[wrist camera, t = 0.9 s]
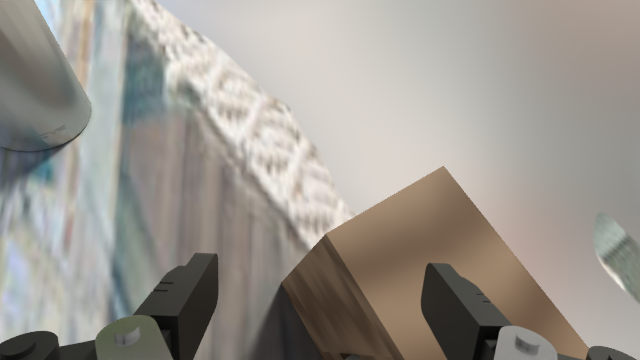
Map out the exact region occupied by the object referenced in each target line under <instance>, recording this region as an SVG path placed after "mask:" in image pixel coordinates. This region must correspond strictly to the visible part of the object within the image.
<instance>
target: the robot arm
mask: <svg viewBox="0 0 640 360" xmlns="http://www.w3.org/2000/svg"><path fill="white" fill-rule="evenodd" d="M91 111H92V110H91V103H90V101H89V99H88V97H87V95H86V93H85V91H84V90H83V88H82V86H81V84H80V82H79V81H78V79H77V77H76V75H75V73H74V71H73V69H72V68H71V66H70V64H69V62H68V61H67V59H66V57H65V55H64V53H63V52H62V50H61V48H60V46H59V44H58V43H57V41H56V39H55V37H54V35H53V34H52V32H51V30H50V28H49V27H48V25H47V23H46V21H45V19H44V18H43V16H42V14H41V12H40V10H39V9H38V7H37V5H36V3H35V2H34V0H0V147H3V148H6V149H10V150H15V151H40V150H45V149H49V148H53V147H56V146H58V145H61V144H64V143H65V142H67V141H69V140H71V139H73V138H74V137H75V136H76V135H78V134H79V133H80V132H81V131H82V130H83V129H84V128H85V126H86V125H87V123H88V121H89V119H90V116H91ZM217 300H218V256H217V254H210V253H195V254H194V256H193V257H192V258H191V260H190V261H189V262H188V264H187V265H186V266H178V267H176V268H174V269H173V270H171V271H170V272H168V273H167V274H166V275H165V276H164V277H163V279H162V280H161V281H160V283H159V284H158V285H157V286H156V287H155V288H154V290H153V292H151V293H150V295H149V296H148V297H147V298H146V299H145V301H144V302H143V303H142V304H141V306H140V307H139V308H138V309H137V311H136V312H135V313H134V314H133V316H128V317H124V318H121V319H119V320H116V321H114V322H112V323H110V324H109V325H107V326H106V327H104V328H103V329H102V330H101V331H100V332H99V333H98V335H97V337H96V339H95V340H92V341H87V342H82V343H77V344H71V345H66V346H61V347H59V343H58V337H57V335H55V334H54V333H52V332H48V331H36V332H30V333H26V334H22V335H19V336H16V337H13V338H11V339H9V340H6V341H4V342H2V343H1V344H0V360H193V358H194V356H195V354H196V352H197V349H198V347H199V345H200V342H201V340H202V338H203V336H204V333H205V331H206V329H207V326H208V324H209V322H210V320H211V317H212V315H213V313H214V311H215V308H216V305H217ZM421 310H422V314H423V316H424V318H425V320H426V322H427V324H428V325H429V327H430V329H431V331H432V333H433V335H434V336H435V338H436V340H437V342H438V344H439V345H440V347H441V349H442V351H443V353H444V355H445V356H446V358H447V360H583V359H579V358H575V357H570V356H566V355H562V354H558V353H557V352H556V350H555V348H554V347H553V345H552V344H551V343H550V342H548V341H547V340H546V339H545V338H543V337H542V336H540V335H539V334H537V333H535V332H533V331H531V330H528V329H525V328H522V327H518V326H513V325H512V323H511V322H510V321H509V320H508V319H507V318H506V317H505V316H504V315H503V314H502V313H501V312H500V311H499V309H498V308H497V307H496V306H495V305H494V304H493V303H491V301H490V300H489V299H488V298H487V296H484V293H483V292H482V291H481V290H480V289H479V288H478V287H477V286H476V285H475V284H473V283H472V282H470V281H469V280H467V279H466V278H464V277H461V276H460V275H459V274H458V273H457V272H456V271H455V270H454V268H453V267H452V266H451V265H450V264H447V263H428V264H427V266H426V270H425V276H424V282H423V288H422V294H421ZM585 360H636V359H635V358H633V357H631V356H629V355H627V354H624V353H623V352H620V351H618V350H615V349H612V348H608V347H603V346H593V347H591V348H589V350H588V353H587V356H586V359H585Z"/></svg>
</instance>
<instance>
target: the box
mask: <svg viewBox="0 0 640 360" xmlns="http://www.w3.org/2000/svg"><path fill="white" fill-rule="evenodd" d="M428 263H447V264H450V265H451V266H452V267H453V268H454V270H455V271H456V272H457V273H458V274H459V275H460V276H461V277H464V278H466V279H467V280H469V281H470V282H472V283H473V284H475V285H476V286H477V287H478V288H479V289H480V290H481V291H482V292H483V293H484V296H487V298H488V299H489V300H490V301H491V303H493V304H494V305H495V306H496V307H497V308H498V309H499V311H500V312H501V313H502V314H503V315H504V316H505V317H506V318H507V319H508V320H509V321H510V322H511V323H512V325H513V326H518V327H522V328H525V329H528V330H531V331H533V332H535V333H537V334H539V335H540V336H542V337H543V338H545V339H546V340H547V341H548V342H550V343H551V344H552V345H553V347H554V348H555V350H556V352H557V353H558V354H562V355H566V356H570V357H575V358H579V359H583V360H585V359H586V356H587V353H588V350H589V348H588V347H587V346H586V344H585V343H584V342H583V340H582V339H581V338H580V337H579V335H578V334H577V333H576V332H575V330H574V329H573V328H572V327H571V325H570V324H569V323H568V322H567V320H566V319H565V318H564V316H563V315H562V314H561V313H560V311H559V310H558V309H557V308H556V307H555V305H554V304H553V303H552V301H551V300H550V299H549V298H548V296H547V295H546V294H545V293H544V291H543V290H542V289H541V288H540V286H539V285H538V284H537V283H536V281H535V280H534V279H533V278H532V276H531V275H530V274H529V272H528V271H527V270H526V269H525V268H524V266H523V265H522V264H521V262H520V261H519V260H518V259H517V257H516V256H515V255H514V254H513V252H512V251H511V250H510V249H509V247H508V246H507V245H506V244H505V242H504V241H503V240H502V239H501V237H500V236H499V235H498V234H497V232H496V231H495V230H494V228H493V227H492V226H491V225H490V223H489V222H488V221H487V220H486V218H485V217H484V216H483V215H482V213H481V212H480V211H479V210H478V208H477V207H476V206H475V205H474V203H473V202H472V201H471V200H470V198H469V197H468V196H467V195H466V193H465V192H464V191H463V190H462V188H461V187H460V186H459V185H458V183H457V182H456V181H455V180H454V178H453V177H452V176H451V174H450V173H449V172H448V171H447V169H446V168H445V167H444V166H442V167H441V168H439V169H437V170H436V171H434V172H432V173H431V174H429V175H427V176H425V177H423V178H422V179H420V180H418V181H416V182H415V183H413V184H411V185H410V186H408V187H406V188H404V189H403V190H401V191H399V192H398V193H396V194H394V195H392V196H390V197H389V198H387V199H385V200H384V201H382V202H380V203H378V204H377V205H375V206H373V207H371V208H370V209H368V210H366V211H365V212H363V213H361V214H359V215H357V216H356V217H354V218H352V219H351V220H349V221H347V222H345V223H344V224H342V225H340V226H338V227H337V228H335V229H333V230H331V231H330V232H328V233H326V234H325V235H324V236H323V237H322V239H321V240H320V241H319V242H318V243H317V244H316V245H315V246H314V247H313V248H312V250H311V251H310V252H309V253H308V254H307V255H306V256H305V257H304V258H303V259H302V260H301V262H300V263H299V264H298V265H297V266H296V267H295V268H294V269H293V270H292V271H291V273H290V274H289V275H288V276H287V277H286V278H285V279H284V280H283V281H282V282H281V284H282V286H283V288H284V289H285V291H286V293H287V295H288V297H289V298H290V300H291V302H292V304H293V306H294V307H295V309H296V311H297V313H298V315H299V317H300V318H301V320H302V322H303V324H304V326H305V327H306V329H307V331H308V333H309V335H310V336H311V338H312V340H313V342H314V344H315V345H316V347H317V349H318V351H319V353H320V354H321V356H322V358H323V360H345V359H346V358H348V357H349V356H350V355H351V354H358V355H359V356H360V358H361V360H447V358H446V356H445V355H444V353H443V351H442V349H441V347H440V345H439V344H438V342H437V340H436V338H435V336H434V335H433V333H432V331H431V329H430V327H429V325H428V324H427V322H426V320H425V318H424V316H423V314H422V310H421V294H422V288H423V282H424V276H425V270H426V266H427V264H428Z"/></svg>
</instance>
